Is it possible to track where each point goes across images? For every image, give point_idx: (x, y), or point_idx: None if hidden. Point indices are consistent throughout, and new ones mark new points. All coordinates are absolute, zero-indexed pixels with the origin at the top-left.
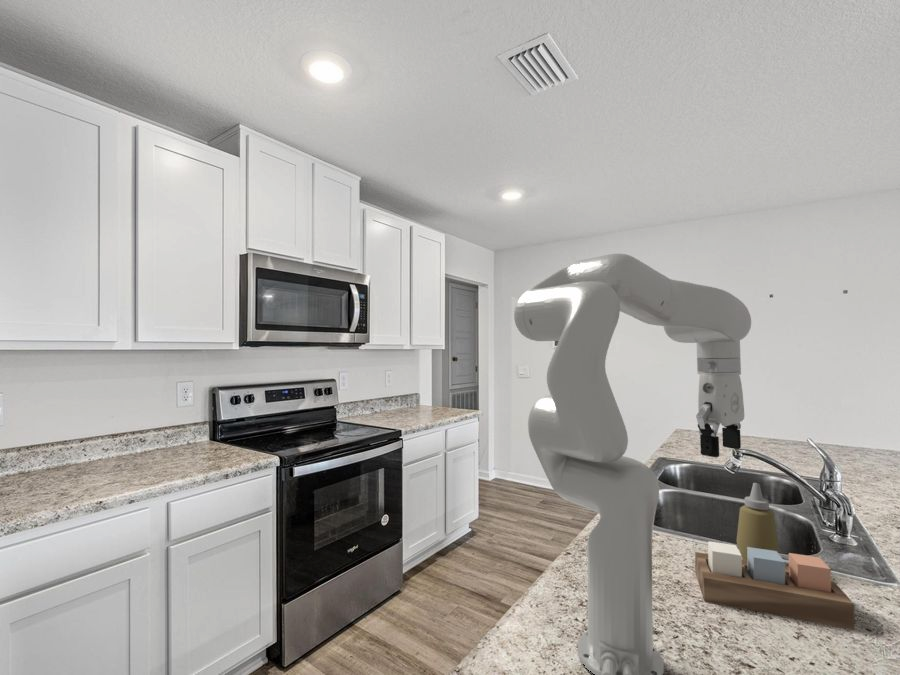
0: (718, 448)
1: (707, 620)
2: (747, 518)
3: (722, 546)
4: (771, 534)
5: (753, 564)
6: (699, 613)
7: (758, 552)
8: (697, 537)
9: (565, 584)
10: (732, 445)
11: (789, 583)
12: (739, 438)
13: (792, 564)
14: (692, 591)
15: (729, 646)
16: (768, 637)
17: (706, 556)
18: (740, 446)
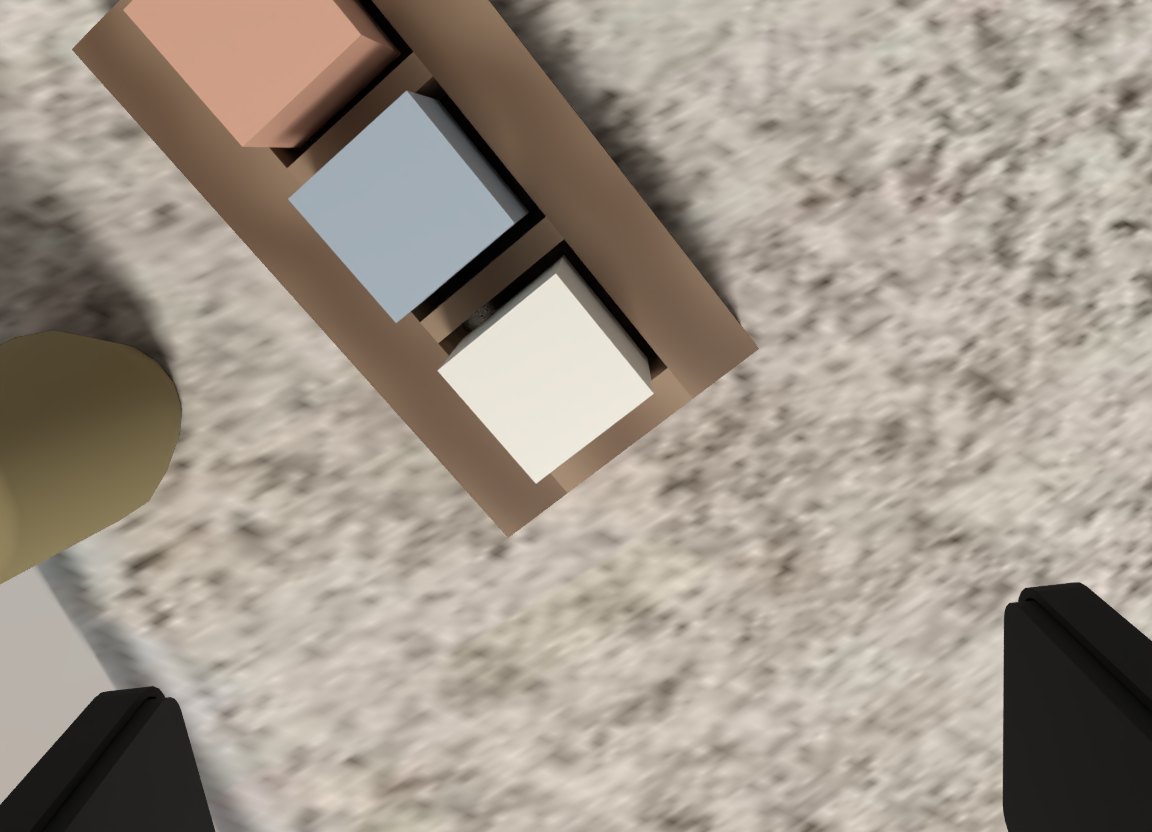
0: (1141, 662)
1: (885, 229)
2: (48, 504)
3: (530, 400)
4: (9, 371)
5: (513, 224)
6: (860, 278)
7: (415, 244)
8: None
9: None
10: (178, 807)
11: (410, 85)
12: (40, 817)
13: (306, 101)
14: (703, 402)
15: (1003, 69)
16: (785, 17)
17: (507, 477)
18: (98, 705)
